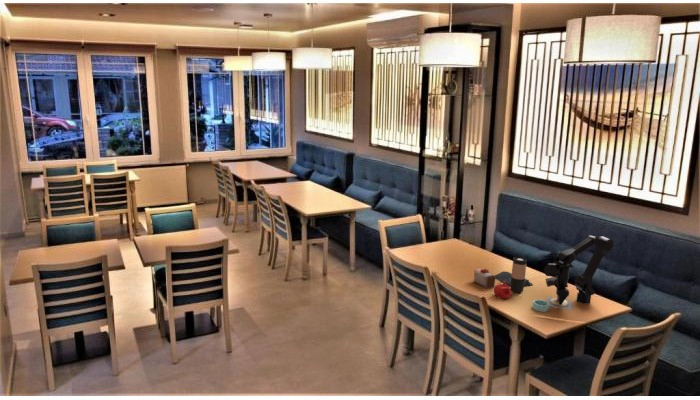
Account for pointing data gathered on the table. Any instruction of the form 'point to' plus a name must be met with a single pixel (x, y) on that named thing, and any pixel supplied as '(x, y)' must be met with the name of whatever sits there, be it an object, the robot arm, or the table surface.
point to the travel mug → (518, 274)
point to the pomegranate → (502, 290)
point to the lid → (556, 302)
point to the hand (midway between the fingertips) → (559, 301)
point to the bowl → (540, 305)
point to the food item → (484, 278)
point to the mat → (559, 306)
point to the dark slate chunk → (509, 279)
